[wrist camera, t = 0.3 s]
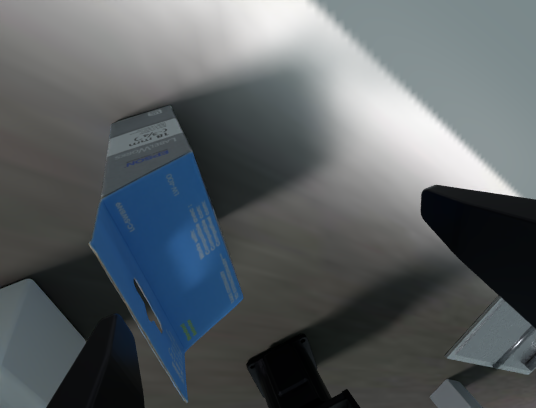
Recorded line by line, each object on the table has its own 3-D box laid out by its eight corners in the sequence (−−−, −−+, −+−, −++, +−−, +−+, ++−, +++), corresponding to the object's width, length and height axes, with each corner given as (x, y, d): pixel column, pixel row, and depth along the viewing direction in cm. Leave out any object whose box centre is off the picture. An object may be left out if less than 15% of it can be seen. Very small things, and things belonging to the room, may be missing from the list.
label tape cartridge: (214, 222, 25) (274, 366, 15) (161, 241, 24) (187, 407, 14) (172, 102, 20) (219, 194, 10) (105, 122, 19) (82, 243, 9)
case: (444, 355, 48) (454, 366, 46) (523, 268, 44) (536, 277, 42) (526, 372, 62) (536, 381, 61) (591, 308, 59) (603, 316, 57)
